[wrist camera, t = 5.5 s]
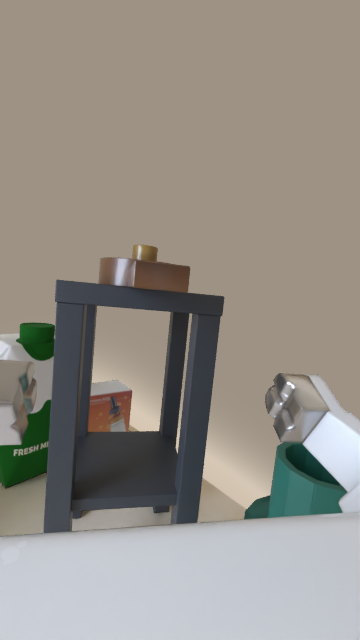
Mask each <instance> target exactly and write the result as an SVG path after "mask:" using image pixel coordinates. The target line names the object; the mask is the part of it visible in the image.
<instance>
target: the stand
mask: <svg viewBox="0 0 360 640" xmlns="http://www.w3.org/2000/svg"><path fill="white" fill-rule="evenodd" d="M55 302H57V308H56V326H55V343H54V360H53V377H52V395H51V412H50V429H49V447H48V464H47V481H46V499H45V516H44V533H56V532H70V531H72V518H81V513H82V511H85V510H102V509H119V508H136V507H152V506H153V510H154V513H162V512H169V505H173V506H172V515H171V525H172V524H186V523H197V519H198V510H199V501H200V492H201V484H202V474H203V466H204V457H205V447H206V440H207V431H208V422H209V412H210V404H211V396H212V387H213V386H212V385H213V378H214V369H215V360H216V350H217V342H218V333H219V324H220V316H222V313H223V304H224V297H223V296H214V295H205V294H195V293H182V292H172V291H162V290H152V289H142V288H133V287H124V286H114V285H104V284H95V283H85V282H75V281H64V280H57V281H56V293H55ZM97 306H109V307H121V308H132V309H145V310H156V311H169V312H171V315H170V325H169V335H168V346H167V356H166V366H165V378H164V388H163V398H162V408H161V418H160V429H159V431H155V432H154V431H150V432H149V431H146V432H88V424H89V410H90V396H91V382H92V368H93V367H92V366H93V354H94V340H95V326H96V312H97ZM189 313H192V314H193V315H192V324H191V333H190V342H189V352H188V361H187V362H188V363H187V372H186V381H185V390H184V401H183V411H182V419H181V429H180V438H179V448H178V454H177V452H176V448H175V447H176V437H177V428H178V417H179V408H180V398H181V389H182V379H183V369H184V360H185V349H186V340H187V330H188V320H189Z"/></svg>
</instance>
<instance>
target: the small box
mask: <svg viewBox="0 0 360 640" xmlns="http://www.w3.org/2000/svg"><path fill="white" fill-rule="evenodd" d="M131 398H132V390H131V389H130V388H128V387H127V386H125V385H124V384H122V383H121V382H119V381H118V380H112V381H106V382H99V383H91V396H90V410H89V424H88V432H128V431H129V420H130V409H131Z"/></svg>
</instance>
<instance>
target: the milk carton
mask: <svg viewBox="0 0 360 640" xmlns="http://www.w3.org/2000/svg"><path fill="white" fill-rule="evenodd" d="M54 333H55V325H52V324H47V323H22V324H20V334H0V360H14V361H28V362H33V363H34V368H35V372H34V374H33V378H34V379H35V380H36V382H37V395H36V401H35V405H34V408H33V411H32V412H31V413H29V414H28V415H27V420H28V426H27V429H26V432H25V435H24V438H23V441H22V444H21V445H0V481H1V483H2V484H3V486H4V487H5V488H7V487H9V486H12V485H14V484H17V483H19V482H22V481H24V480H27V479H29V478H32V477H34V476H37V475H39V474H42V473H44V472H47V464H48V447H49V429H50V412H51V395H52V377H53V360H54V343H55V335H54Z"/></svg>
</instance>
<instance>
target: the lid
mask: <svg viewBox="0 0 360 640" xmlns="http://www.w3.org/2000/svg"><path fill="white" fill-rule="evenodd" d="M157 251H158V249H157V248H156V247H153V246H148V245H134V246H133V255H132V256H133V257H132V259H129V258H101V259H100V270H99V284H104V285H114V286H124V287H133V288H142V289H152V290H162V291H172V292H182V293H187V292H188V285H189V276H190V267H189V266H182V265H175V264H169V263H163V262H157Z"/></svg>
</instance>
